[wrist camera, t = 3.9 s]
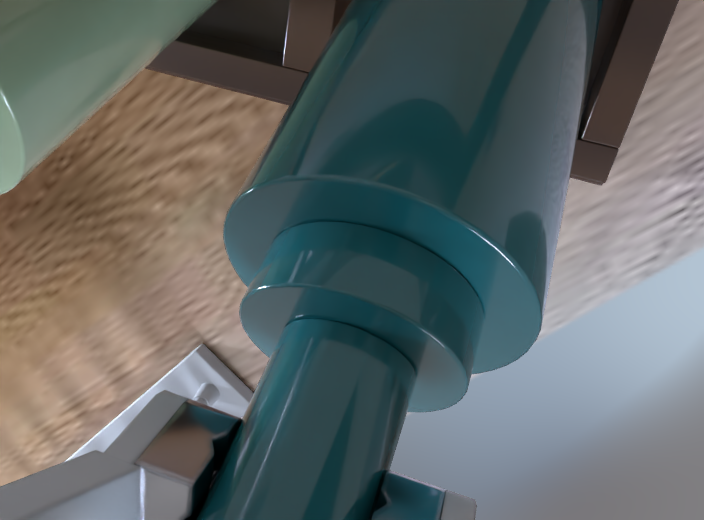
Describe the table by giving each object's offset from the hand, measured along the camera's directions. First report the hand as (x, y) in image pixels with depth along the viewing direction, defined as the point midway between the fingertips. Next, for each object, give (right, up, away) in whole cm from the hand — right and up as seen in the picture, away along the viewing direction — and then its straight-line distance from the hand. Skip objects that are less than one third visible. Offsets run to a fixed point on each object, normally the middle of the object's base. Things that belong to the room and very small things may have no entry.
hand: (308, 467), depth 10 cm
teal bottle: (+5, +12, +8) cm, 15 cm away
